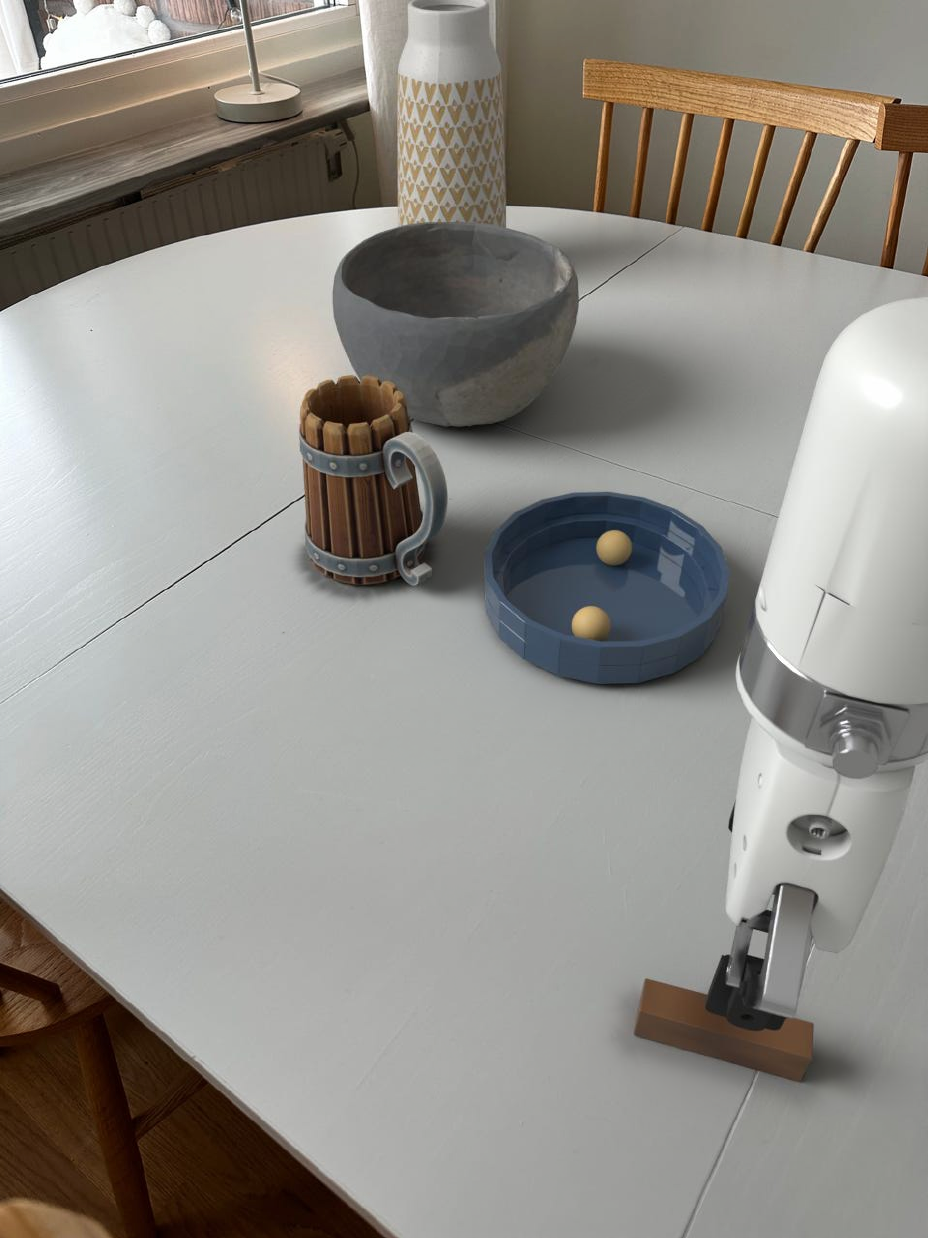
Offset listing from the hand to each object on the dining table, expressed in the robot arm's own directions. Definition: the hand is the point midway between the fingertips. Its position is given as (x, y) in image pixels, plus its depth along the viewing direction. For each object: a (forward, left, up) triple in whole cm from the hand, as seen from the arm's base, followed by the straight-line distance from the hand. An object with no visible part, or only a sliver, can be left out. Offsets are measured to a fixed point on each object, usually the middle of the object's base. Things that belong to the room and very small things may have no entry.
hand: (751, 918), depth 46 cm
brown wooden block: (0, 0, -13) cm, 13 cm away
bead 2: (+13, -39, -10) cm, 42 cm away
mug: (+32, -34, -13) cm, 48 cm away
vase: (+44, -93, -13) cm, 103 cm away
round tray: (+13, -34, -13) cm, 38 cm away
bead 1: (+13, -29, -10) cm, 33 cm away
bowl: (+34, -62, -13) cm, 71 cm away
